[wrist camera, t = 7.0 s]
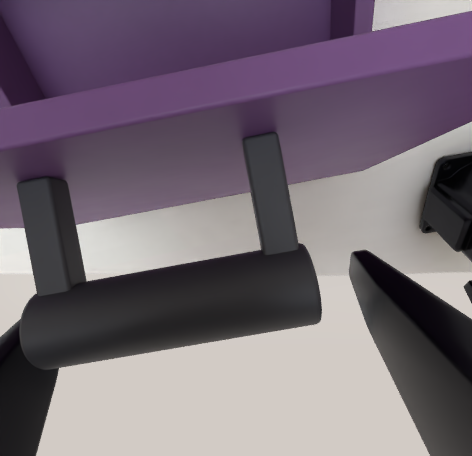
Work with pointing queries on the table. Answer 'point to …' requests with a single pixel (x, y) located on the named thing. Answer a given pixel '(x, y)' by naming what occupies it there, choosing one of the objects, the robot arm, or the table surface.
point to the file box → (152, 38)
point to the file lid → (213, 180)
